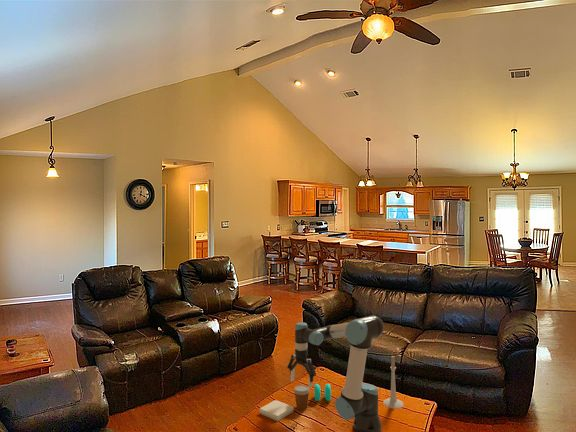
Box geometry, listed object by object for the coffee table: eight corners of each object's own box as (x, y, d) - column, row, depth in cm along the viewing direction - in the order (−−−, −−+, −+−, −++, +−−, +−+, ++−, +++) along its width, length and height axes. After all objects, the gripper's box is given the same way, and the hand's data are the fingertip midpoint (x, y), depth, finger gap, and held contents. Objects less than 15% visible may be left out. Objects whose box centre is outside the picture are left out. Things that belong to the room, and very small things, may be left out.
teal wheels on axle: (331, 404, 251) (331, 387, 251) (315, 404, 251) (314, 387, 251) (330, 396, 261) (329, 381, 261) (314, 396, 261) (314, 381, 261)
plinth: (293, 411, 242) (293, 406, 242) (277, 421, 231) (277, 416, 231) (275, 404, 251) (275, 399, 251) (259, 413, 240) (259, 408, 240)
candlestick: (387, 398, 258) (386, 350, 258) (407, 403, 251) (406, 354, 250) (379, 406, 248) (379, 356, 247) (400, 411, 240) (399, 361, 240)
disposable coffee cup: (308, 412, 241) (308, 392, 241) (292, 410, 243) (292, 390, 242) (310, 404, 250) (310, 385, 250) (295, 403, 252) (295, 384, 252)
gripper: (321, 351, 241) (322, 387, 241) (289, 342, 257) (289, 376, 257) (314, 355, 235) (314, 391, 235) (281, 345, 251) (281, 380, 251)
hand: (301, 383), depth 246 cm, fingers open, 13 cm apart
